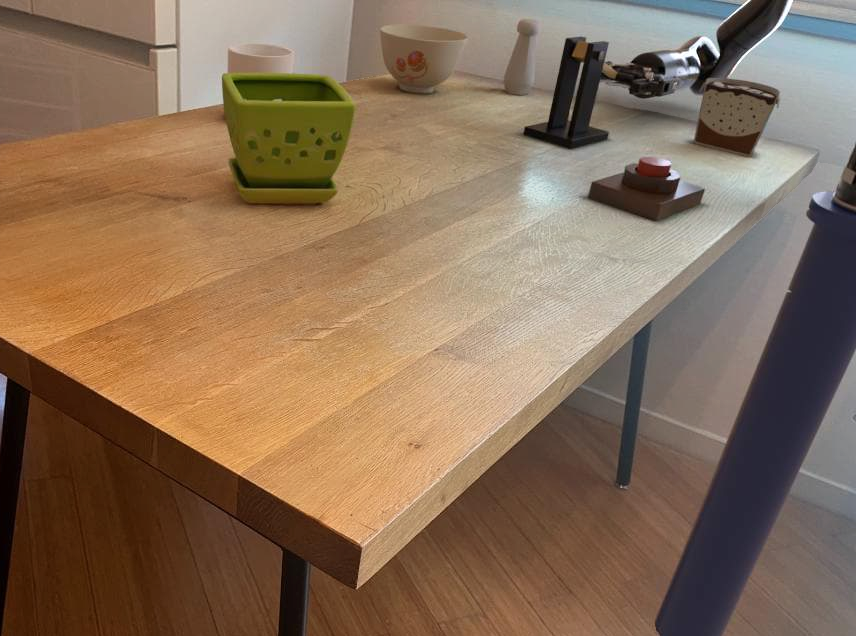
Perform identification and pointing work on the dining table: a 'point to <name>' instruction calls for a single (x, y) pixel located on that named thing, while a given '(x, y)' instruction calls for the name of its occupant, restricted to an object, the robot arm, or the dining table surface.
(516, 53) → the salt shaker
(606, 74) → the lever
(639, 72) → the robot arm
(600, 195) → the block
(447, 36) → the bowl
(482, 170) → the dining table surface
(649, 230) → the dining table surface
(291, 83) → the flower pot
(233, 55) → the mug
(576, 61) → the lock bracket
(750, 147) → the food container
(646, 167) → the button
